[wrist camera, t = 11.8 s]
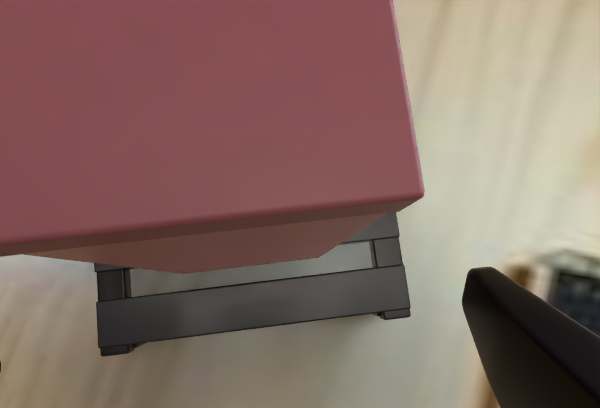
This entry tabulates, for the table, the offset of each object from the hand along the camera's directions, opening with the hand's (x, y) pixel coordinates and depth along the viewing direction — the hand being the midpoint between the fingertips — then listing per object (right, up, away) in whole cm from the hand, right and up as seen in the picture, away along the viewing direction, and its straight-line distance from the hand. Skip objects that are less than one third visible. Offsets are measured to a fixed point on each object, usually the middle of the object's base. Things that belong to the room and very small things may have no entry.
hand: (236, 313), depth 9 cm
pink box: (-1, +2, +8) cm, 9 cm away
